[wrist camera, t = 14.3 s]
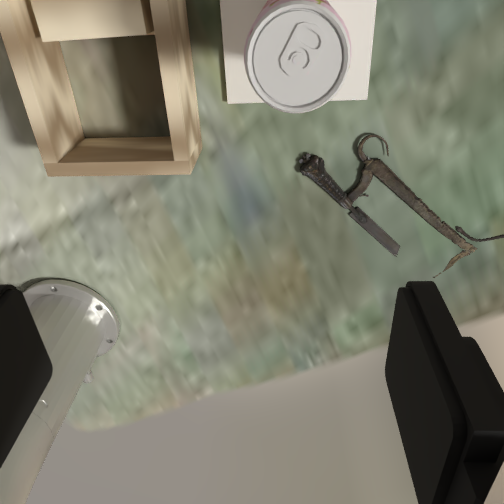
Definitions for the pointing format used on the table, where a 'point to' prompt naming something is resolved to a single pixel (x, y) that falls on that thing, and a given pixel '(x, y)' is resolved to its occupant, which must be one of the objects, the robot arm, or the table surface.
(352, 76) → the pad
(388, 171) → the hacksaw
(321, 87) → the beverage can
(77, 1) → the offcut upper
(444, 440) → the robot arm
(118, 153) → the frame
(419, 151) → the table surface
